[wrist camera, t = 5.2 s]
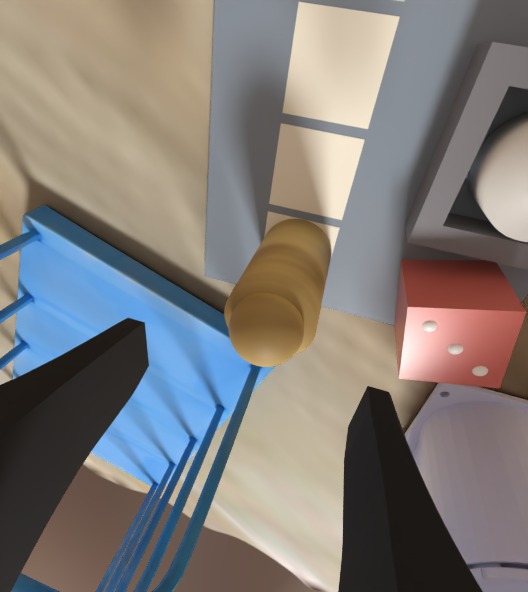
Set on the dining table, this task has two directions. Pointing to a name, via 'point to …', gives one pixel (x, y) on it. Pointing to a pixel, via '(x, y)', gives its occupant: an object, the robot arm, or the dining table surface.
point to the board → (342, 129)
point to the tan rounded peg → (280, 294)
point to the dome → (504, 178)
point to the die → (455, 322)
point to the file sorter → (152, 388)
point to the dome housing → (469, 162)
